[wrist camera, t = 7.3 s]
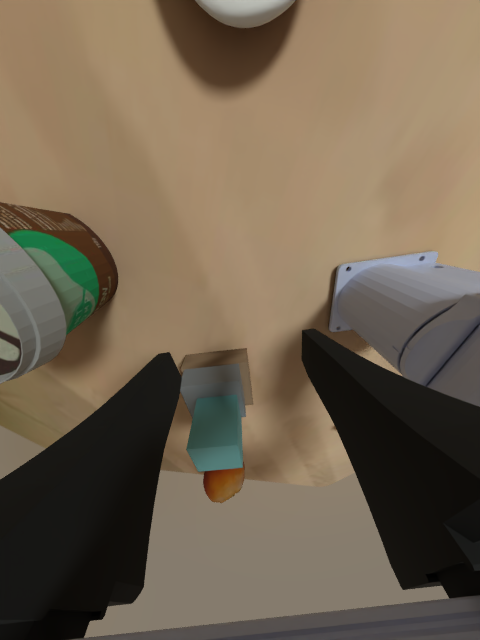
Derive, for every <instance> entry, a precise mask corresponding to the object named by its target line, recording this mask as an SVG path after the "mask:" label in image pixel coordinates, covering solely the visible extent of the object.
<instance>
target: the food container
mask: <svg viewBox="0 0 480 640" xmlns="http://www.w3.org/2000/svg"><path fill="white" fill-rule="evenodd" d="M117 285H118V273H117V268H116V265H115V262H114V259H113V257H112V255H111V253H110V252H109V250H108V249H107V247H106V246H105V244H104V243H103V242H102V240H101V239H100V238H99V237H98V236H97V235H96V234H95V233H94V232H93V231H92V230H91V229H90V228H89V227H88V226H86V225H85V224H84V223H83V222H81V221H80V220H78V219H77V218H75V217H74V216H72V215H70V214H67V213H61V212H55V211H49V210H43V209H37V208H31V207H25V206H19V205H13V204H7V203H1V202H0V384H1V383H2V382H4V381H8V380H12V379H15V378H18V377H20V376H22V375H24V374H26V373H28V372H30V371H32V370H34V369H36V368H38V367H39V366H41V365H43V364H45V363H47V362H49V361H51V360H52V359H53V358H54V357H56V356H57V355H58V353H59V352H60V350H61V349H62V348H63V345H64V342H65V339H66V335H67V334H68V333H69V332H71V331H72V330H73V329H74V328H76V327H77V326H78V325H79V324H80V323H82V322H83V321H84V320H85V319H87V318H88V317H89V316H90V315H92V314H93V313H94V312H95V311H96V310H98V309H99V308H100V307H101V306H103V305H104V304H105V303H106V302H108V301H109V300H110V298H111V297H112V296H113V295H114V294H115V291H116V289H117Z"/></svg>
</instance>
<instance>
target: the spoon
mask: <svg viewBox="0 0 480 640" xmlns="http://www.w3.org/2000/svg"><path fill="white" fill-rule="evenodd" d="M195 1H196V2H197V3H198V5H199V6H200V7H201V8H203V9H204V10H205V11H206V12H207V13H208V14H209V15H210V16H212V17H213V18H215V19H216V20H218V21H219V22H221V23H223V24H225V25H229V26H233V27H237V28H252V27H257V26H261V25H263V24H265V23H268V22H270V21H271V20H273V19H275V18H276V17H278V16H279V15H281V14H282V13H283V12H284V11H286V10H287V9H288V8H289V7H290V6H291V5H292V4H293V3H294V2H295V0H195Z"/></svg>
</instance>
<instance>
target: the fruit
mask: <svg viewBox="0 0 480 640" xmlns="http://www.w3.org/2000/svg"><path fill="white" fill-rule="evenodd" d="M243 481H244V462H243V468H234V469H223V470H211V471H205V473H204V479H203V484H204V488H205V492H206V494H207V496H208V497H209V499H210V500H211V501H212V502H220V503H223V502H224V501H226V500H228V499H229V498H231V497H232V496H234V495H235V493H238V492H239V491H240V490H241V488H242V485H243Z"/></svg>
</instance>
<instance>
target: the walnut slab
mask: <svg viewBox="0 0 480 640" xmlns="http://www.w3.org/2000/svg"><path fill="white" fill-rule="evenodd" d="M230 364H239V368H240V374H241V380H242V386H243V391H244V397H245V405H253V397H252V388H251V380H250V372H249V364H248V356H247V348H244V349H235V350H226V351H217V352H208V353H199V354H190V355H186V356H185V359H184V361H183V364H182V367H181V371H182V374H183V372H184V370H185V369H194V368H203V367H212V366H221V365H230Z"/></svg>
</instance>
